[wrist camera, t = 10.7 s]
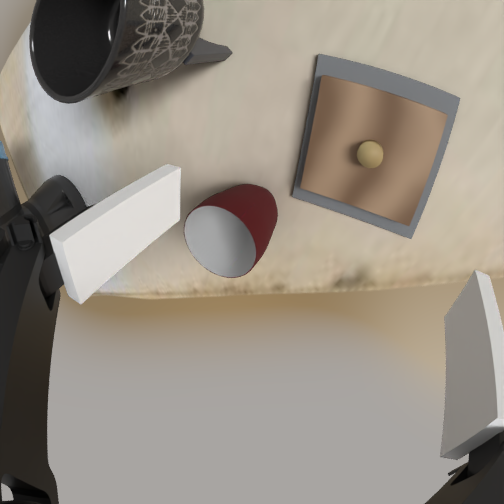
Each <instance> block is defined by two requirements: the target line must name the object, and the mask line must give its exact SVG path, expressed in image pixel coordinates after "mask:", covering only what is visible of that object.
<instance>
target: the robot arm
mask: <svg viewBox="0 0 504 504" xmlns="http://www.w3.org/2000/svg"><path fill="white" fill-rule="evenodd" d="M180 176H181V167H177V166H174V165H170V164H166V165H164V166H162V167H160V168H158V169H156V170H155V171H153V172H151V173H149V174H147V175H145V176H144V177H142V178H140V179H138V180H136V181H135V182H133V183H131V184H129V185H128V186H126V187H124V188H122V189H121V190H119V191H117V192H116V193H114V194H112V195H111V196H109V197H107V198H106V199H104V200H102V201H101V202H99V203H97V204H95V205H92V206H89V207H87V208H86V206H85V203H84V201H83V199H82V197H81V195H80V194H79V192H78V190H77V189H76V188H75V186H74V185H73V184H72V183H71V182H70V181H69V180H68V179H66V178H65V177H63V176H60V175H56V176H54V177H52V178H50V179H48V180H47V181H45V182H44V183H43V184H42V186H41V187H40V188H39V189H38V190H37V191H36V192H35V193H34V194H33V195H32V197H31V198H30V199H29V200H28V201H26V202H25V203H23V204H20V201H19V198H18V195H17V191H16V188H15V185H14V182H13V178H12V175H11V171H10V168H9V164H8V157H6V154H5V150H4V147H3V144H2V142H1V141H0V504H59V502H58V493H57V485H56V481H55V478H54V475H53V473H52V471H51V469H50V467H49V464H48V455H47V454H48V453H47V409H48V389H49V376H50V365H51V355H52V347H53V339H54V332H55V325H56V318H57V312H58V307H59V301H60V290H59V288H60V287H61V286H62V285H65V288H66V291H67V294H68V296H69V297H71V298H72V299H74V300H75V301H77V302H78V303H80V304H82V303H83V302H84V301H85V300H86V299H87V298H89V297H90V296H91V295H92V294H93V293H94V292H95V291H96V290H97V289H99V288H100V287H101V286H102V285H103V284H104V283H105V282H106V281H108V280H109V279H110V278H111V277H112V276H113V275H114V274H116V273H117V272H118V271H119V270H120V269H121V268H123V267H124V266H125V265H126V264H127V263H128V262H130V261H131V260H132V259H133V258H134V257H135V256H137V255H138V254H139V253H140V252H141V251H143V250H144V249H145V248H146V247H147V246H148V245H150V244H151V243H152V242H153V241H155V240H156V239H157V238H158V237H159V236H161V235H162V234H163V233H164V232H166V231H167V230H168V229H169V228H170V227H172V226H173V225H174V224H175V223H177V222H178V221H179V220H180ZM444 320H445V340H446V390H445V410H444V425H443V435H442V444H441V452H440V457H444V458H449V459H455V460H458V459H460V458H461V457H463V456H465V455H466V454H468V453H469V461H468V462H467V463H465V464H463V465H462V466H460V467H458V468H456V469H454V470H452V471H451V472H450V473H448V475H449V476H450V475H452V474H454V473H455V474H454V475H453V476H452V477H451V478H450V479H449V481H448V482H447V483H446V484H445V485H444V486H443V487H442V488H441V489H440V490H439V491H438V492H437V493H436V494H435V495H434V496H432V497H431V498H430V499H429V500H428V501H427V502H426V503H425V504H504V331H503V327H502V322H501V318H500V314H499V310H498V306H497V302H496V298H495V295H494V291H493V287H492V284H491V280H490V277H489V275H486V274H484V273H482V272H480V271H477V270H475V271H474V272H473V274H472V276H471V277H470V279H469V280H468V282H467V284H466V285H465V287H464V288H463V290H462V292H461V293H460V295H459V296H458V298H457V299H456V301H455V302H454V304H453V305H452V307H451V308H450V310H449V311H448V313H447V314H446V315H445V317H444ZM1 483H3V484H5V485H7V486H8V487H9V488H10V489H11V491H12V494H13V498H14V500H13V501H2V495H1Z"/></svg>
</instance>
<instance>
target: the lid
mask: <svg viewBox="0 0 504 504" xmlns="http://www.w3.org/2000/svg"><path fill="white" fill-rule="evenodd" d="M447 116H448V115H447V114H446V113H444V112H441V111H439V110H436V109H434V108H431V107H429V106H426V105H424V104H421V103H418V102H416V101H413V100H410V99H407V98H404V97H401V96H398V95H395V94H392V93H389V92H386V91H383V90H380V89H377V88H373V87H370V86H366V85H363V84H359V83H356V82H352V81H348V80H344V79H340V78H336V77H332V76H328V75H322V78H321V83H320V89H319V94H318V100H317V105H316V110H315V116H314V121H313V126H312V131H311V137H310V142H309V147H308V152H307V157H306V162H305V167H304V172H303V176H302V181H301V186H300V188H301V189H304V190H307V191H311V192H314V193H317V194H320V195H323V196H326V197H329V198H332V199H335V200H338V201H341V202H344V203H347V204H349V205H352V206H355V207H358V208H361V209H364V210H366V211H369V212H372V213H375V214H377V215H380V216H383V217H386V218H388V219H391V220H394V221H396V222H399V223H401V224H404V225H407V226H410V224H411V221H412V219H413V216H414V214H415V211H416V209H417V206H418V204H419V201H420V198H421V196H422V193H423V190H424V188H425V185H426V182H427V179H428V177H429V174H430V171H431V168H432V165H433V162H434V159H435V156H436V153H437V150H438V147H439V144H440V140H441V137H442V134H443V130H444V127H445V123H446V120H447Z"/></svg>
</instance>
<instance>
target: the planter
mask: <svg viewBox="0 0 504 504" xmlns="http://www.w3.org/2000/svg"><path fill="white" fill-rule="evenodd" d="M203 19H204V4H203V0H37V1H36V4H35V7H34V10H33V14H32V19H31V25H30V36H29V42H30V56H31V61H32V66H33V69H34V72H35V75H36V77H37V79H38V81H39V83H40V85H41V86H42V88H43V89H44V91H45V92H46V93H47V94H48V95H49V96H51V97H52V98H53V99H54V100H57V101H59V102H62V103H68V104H69V103H77V102H80V101H82V100H85V99H88V98H91V97H94V96H97V95H100V94H104V93H107V92H110V91H113V90H117V89H120V88H124V87H127V86H131V85H135V84H138V83H142V82H146V81H150V80H154V79H158V78H160V77H162V76H165V75H167V74H168V73H170V72H171V71H173V70H175V69H176V68H177V67H178V66H179V65H180V64H181V63H184V64H185V65H189V64H196V63H204V62H213V61H224V60H226V59H227V58H228V57H229V56H230V55H231V54H232V52H231V50H230V49H229V48H228V47H227V46H222V45H217V44H214V43H211V42H208V41H206V40H203V39H201V38H199V35H200V32H201V29H202V25H203Z"/></svg>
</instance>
